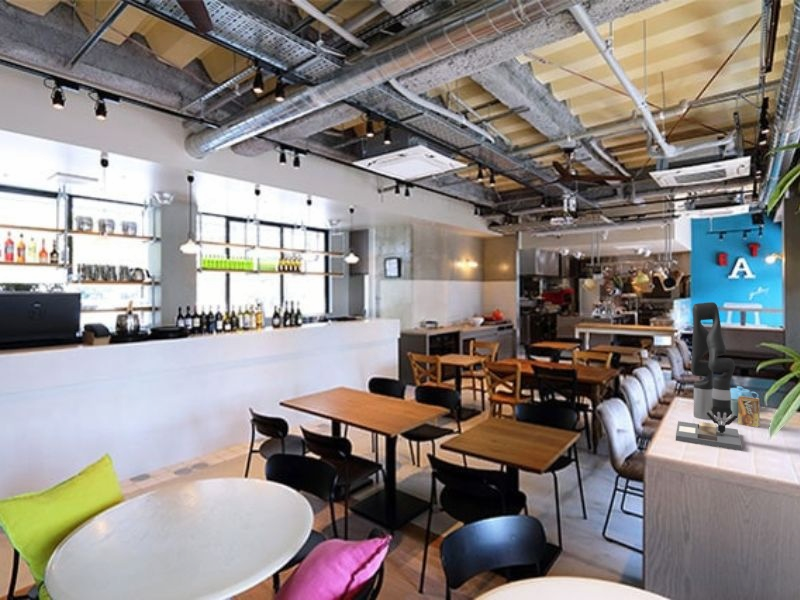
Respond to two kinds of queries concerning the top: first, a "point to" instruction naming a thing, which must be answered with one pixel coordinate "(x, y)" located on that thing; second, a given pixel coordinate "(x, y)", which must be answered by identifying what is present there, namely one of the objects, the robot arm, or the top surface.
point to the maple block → (707, 428)
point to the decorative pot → (741, 393)
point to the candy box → (748, 411)
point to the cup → (734, 406)
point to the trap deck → (708, 436)
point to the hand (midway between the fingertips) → (721, 432)
